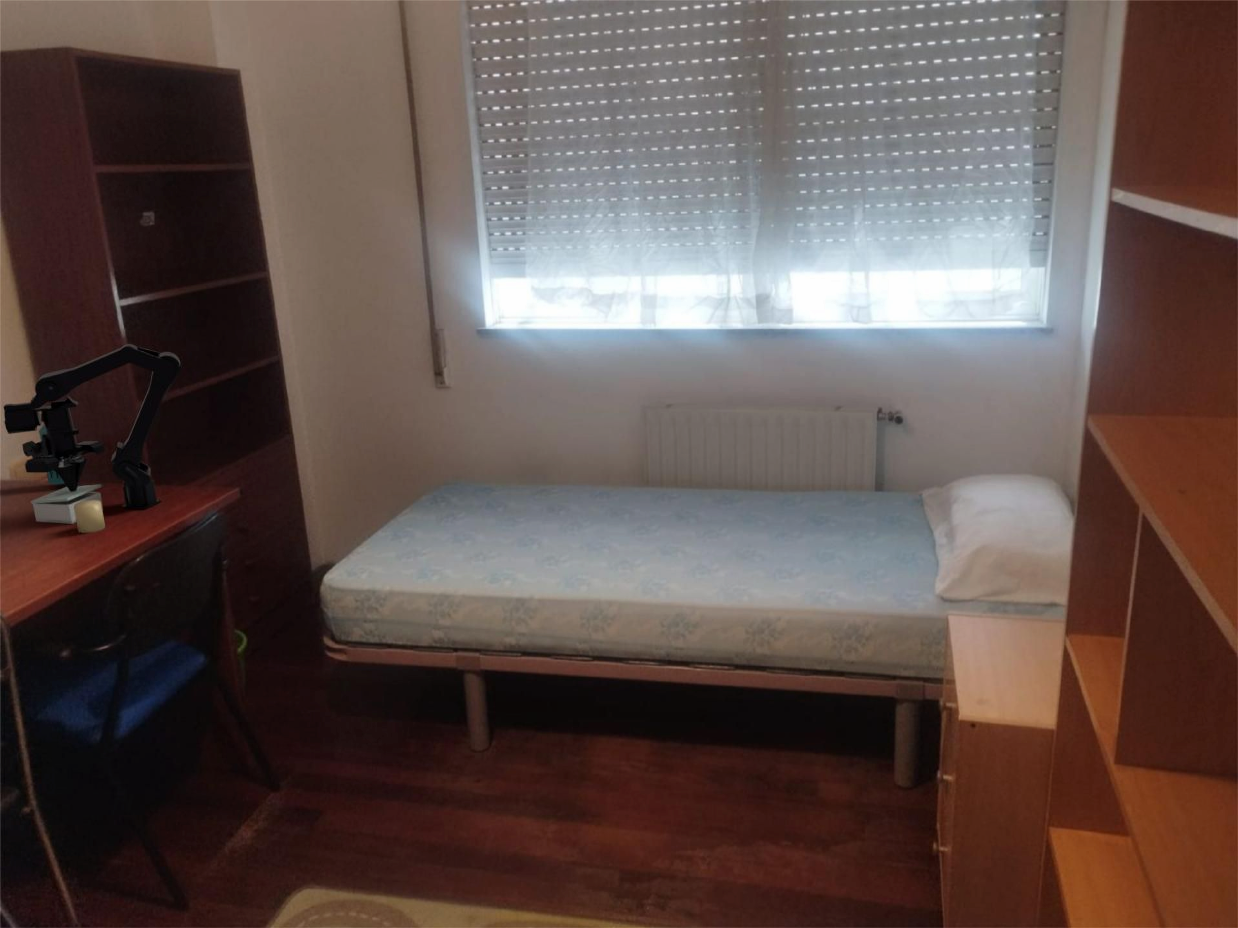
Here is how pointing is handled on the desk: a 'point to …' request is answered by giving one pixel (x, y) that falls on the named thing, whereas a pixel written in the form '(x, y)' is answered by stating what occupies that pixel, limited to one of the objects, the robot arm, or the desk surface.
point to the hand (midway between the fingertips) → (73, 491)
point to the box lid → (65, 494)
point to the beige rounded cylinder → (89, 516)
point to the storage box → (62, 509)
